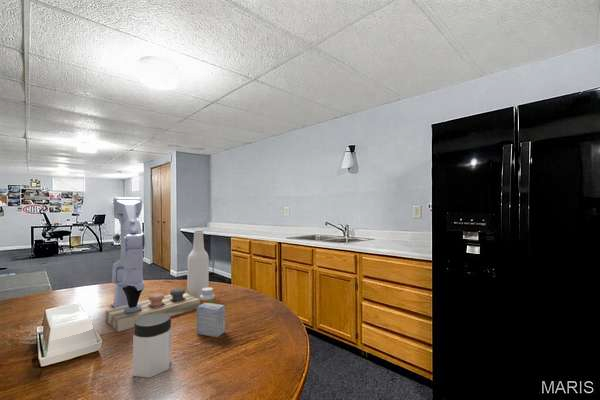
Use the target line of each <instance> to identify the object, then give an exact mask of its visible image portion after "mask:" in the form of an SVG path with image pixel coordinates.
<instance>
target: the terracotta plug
mask: <svg viewBox="0 0 600 400" xmlns="http://www.w3.org/2000/svg"><path fill="white" fill-rule="evenodd" d="M164 296H165V294H164V293H162V292H159V293H158V292H157V293H151V294H149V295H148V300H149V301H151V308H155V307H159V306H162V299H164Z"/></svg>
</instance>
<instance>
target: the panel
mask: <svg viewBox="0 0 600 400" xmlns="http://www.w3.org/2000/svg"><path fill="white" fill-rule="evenodd" d="M138 304H140V305H141V310H140V311H139V312H136V313H132V314H128V315H127V314H126V313H125V312H124V307H126V306H128V305H125V306H121V307H117V308H115V307H113V308H110V309H105V321H106V323H108V324H109V325H111V326H112V327H113V328H114V329H115V330H116V331H117V332H118V333H119V332H123V331H126V330H130V329H134V323H135V321H136V320H138V319H139V318H141V317H144V316H147V315H151V314H168V315H170V316H171V317H173V316H177V315H180V314H183V313H186V312H189V311H193V310H197V307H198V306H200V299H199V298H196V297H194V296H191V295H189V294H187V292H185V293H184V294H183V300H182V301H178V302H173V301H172V295H170V294H168V295H164V299H162V306H159V307H155V308H151V301H149V299H147V300H142V301H138Z"/></svg>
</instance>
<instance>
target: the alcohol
mask: <svg viewBox="0 0 600 400" xmlns="http://www.w3.org/2000/svg"><path fill="white" fill-rule="evenodd" d="M204 241H205V240H204V229H200V228H198V229H197V228H196V229H194V230H193V243H192V250H191V251H190V253H189V254H188V256H187V276H186V277H187V278H186V279H187V285H186V288H187V290H186V293H187V294H189V295H191V296H194V297H196V298H199V299H200V296H201V295H202V289H203V288H207V287H209V272H210V271H209V270H210V268H209V266H210V265H209V262H210V259H209V254H208V252H207V251H206V249H205V244H204V243H205V242H204Z"/></svg>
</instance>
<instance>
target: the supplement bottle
mask: <svg viewBox="0 0 600 400" xmlns="http://www.w3.org/2000/svg"><path fill="white" fill-rule="evenodd" d="M204 303H212V304H216V295H215V294H214V288H213V287H211V286H210V287H209V286H208V287H207V288H203V289H202V295H201V296H200V305H202V304H204Z"/></svg>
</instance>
